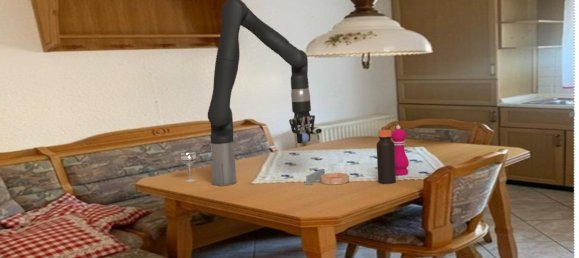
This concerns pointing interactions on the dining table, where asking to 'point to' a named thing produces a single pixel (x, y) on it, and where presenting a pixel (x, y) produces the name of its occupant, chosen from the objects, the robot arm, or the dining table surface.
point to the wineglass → (188, 161)
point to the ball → (305, 137)
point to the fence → (314, 177)
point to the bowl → (334, 178)
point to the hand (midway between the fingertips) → (304, 142)
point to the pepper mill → (400, 151)
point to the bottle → (386, 158)
